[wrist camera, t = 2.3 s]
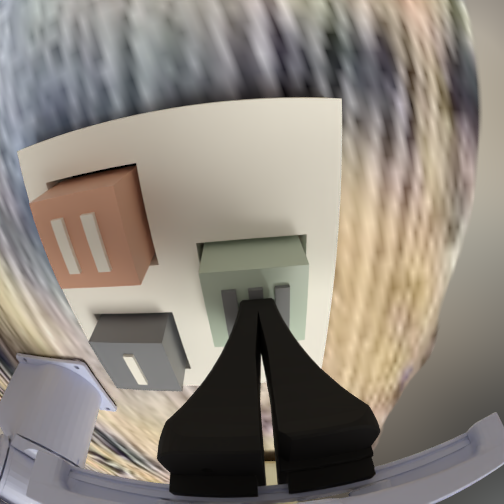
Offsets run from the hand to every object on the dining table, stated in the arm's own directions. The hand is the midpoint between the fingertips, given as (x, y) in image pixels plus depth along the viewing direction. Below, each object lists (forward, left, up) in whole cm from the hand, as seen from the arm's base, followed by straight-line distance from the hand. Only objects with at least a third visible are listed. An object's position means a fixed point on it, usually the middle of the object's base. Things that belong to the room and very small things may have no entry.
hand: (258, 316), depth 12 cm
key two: (-7, +4, -3) cm, 9 cm away
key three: (0, 0, -3) cm, 3 cm away
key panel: (-4, 0, -5) cm, 6 cm away
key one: (-7, -4, -3) cm, 9 cm away
